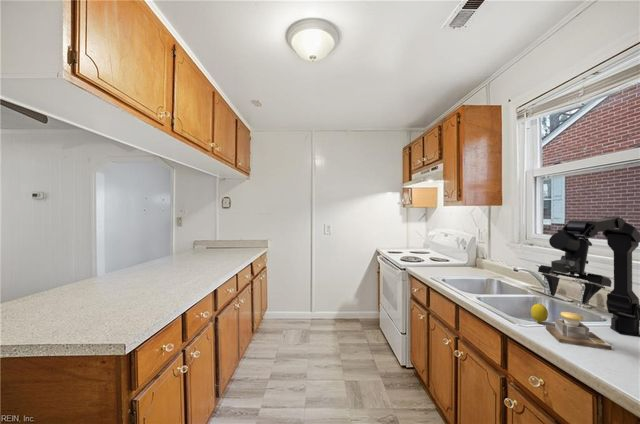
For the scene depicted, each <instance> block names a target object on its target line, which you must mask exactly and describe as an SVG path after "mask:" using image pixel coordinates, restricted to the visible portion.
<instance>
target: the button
mask: <svg viewBox="0 0 640 424" xmlns="http://www.w3.org/2000/svg"><path fill="white" fill-rule="evenodd" d="M560 316H561V317H562V318H564V324H566V325H571V326H578V327H579V322H581V321H583V320H584V316H583V315H581V314H579V313H574V312H569V311H561V312H560Z"/></svg>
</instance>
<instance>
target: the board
mask: <svg viewBox="0 0 640 424" xmlns="http://www.w3.org/2000/svg"><path fill="white" fill-rule="evenodd" d="M554 320H555V321H554V323H555V326H549V325H548V326H547V325H546V326H545V330H546V331H547V332H548V333H549V334H550V335H551V336H552V337H553V338H554V339H555V340H556V341H557V342H558V343H562V344H567V343H568V344H569V345H575V346H582V347H589V348H594V349H595V348H596V349H602V350H608V351H609V350H610V351H611V350H612V345H611V344H609V343H608V342H607V341H605V340H604V339H602V338H601V337H599V336H598V335H596V334H595V333H594V332H593V331H590V328H589V327H587V326H586V325H585V324H583V323H582V322H581V321H579V327H578V326H571V325H566V324H564V319H563V318H555V319H554Z"/></svg>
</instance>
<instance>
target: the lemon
mask: <svg viewBox="0 0 640 424" xmlns="http://www.w3.org/2000/svg"><path fill="white" fill-rule="evenodd" d="M530 315H531V317H532V318H533V319H534V320H535V321H537V323H538V324H539V323H540V324H541V323H542V322H546V321H547V319H548V317H549V312H548V308H547V306H545V305H544V304H542V303H541V302H539V303H535V304H534V305H532V306H531V309H530Z"/></svg>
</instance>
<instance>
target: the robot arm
mask: <svg viewBox="0 0 640 424" xmlns="http://www.w3.org/2000/svg"><path fill="white" fill-rule="evenodd" d="M599 232H602V235H603V236H604V237H605V239H606V243H607V246H608V247H609V248H610V249H611V250H612V251H613V289H612V290H611V291H610V292H608V293H607V294H606V298H607V299H606V302H605V304H606V308H607V313H608V314H612V317H611V318H610V321H611V322H610V326H609V328H610V329H611V330H612V331H615V332H616V333H618V334H619V335H626V336H636V337H640V299H639V297H638V296H637V295H636V293H635V292H634V291H633V252H634V251H635V250H636V249H637V248H638V247H639V245H640V232H639V230H638V229H637V228H636V227H635V226H634V225H632V224H629V223H627V222H626V221H625V220H624V219H623V218H622V217H619V216H613V217H612V216H605V217H603V218H598V219H597V218H596V219H590V220H579V219H577V220H573V219H570V220H568V221H567V223H566V224H565V225H564V226H563V228H561V229H557V232H556V233H554V234H552V235H551V236H550V237H549V240H548V241H549V242H548V243H549V245H550V246H551V247H552V248H553V249H556V250H559V251H561V252H563V253H564V255H561V257H560V259H556V260H551V261H550V262H551V263H550V264H551V266H550V265H544V264H541V265H540V266H539V267H538V268H537V269H538V270H537V272H538V273H541V276H544V277H545V279H546V281H547V284H548V287H549V292H550V296H552V297H554V296H555V295H556V293H557V289H558V286H559V282H560V277H558V276H561V277H567V278H573V279H578V280H583V281H584V282H583V284H584V289H583V295H582V300H581V304H582V305H586V304H587V303H588V302H589V301H590V300H591V299H592V298H593V296H595V295H596V294H597V293H598V292H599V291H600V290H601V289H603V290H604V289H606V287H608V288H611V287H612V279H610V277H607V276H605V275H601V274H596V273H589V272H588V273H587V272H585V269H586V265H589V260H587V258H588V254H589V247H592V246H593V243H592V242H591V241H590V239H589V238H593V237H596V236H597V235H599V234H598V233H599ZM586 281H587V282H586Z"/></svg>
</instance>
